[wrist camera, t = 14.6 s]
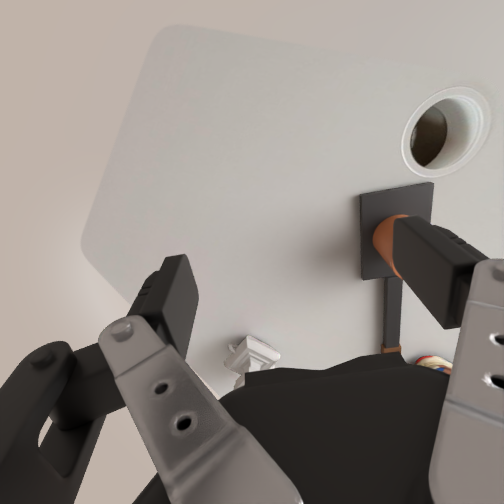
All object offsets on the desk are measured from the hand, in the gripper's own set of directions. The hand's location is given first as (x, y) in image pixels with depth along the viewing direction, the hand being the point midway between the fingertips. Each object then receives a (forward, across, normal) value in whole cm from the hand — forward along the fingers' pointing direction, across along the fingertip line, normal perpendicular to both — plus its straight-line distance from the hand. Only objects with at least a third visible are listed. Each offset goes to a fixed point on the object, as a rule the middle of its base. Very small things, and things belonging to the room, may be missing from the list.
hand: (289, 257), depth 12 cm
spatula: (+28, -16, +23) cm, 40 cm away
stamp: (+28, +7, +32) cm, 43 cm away
